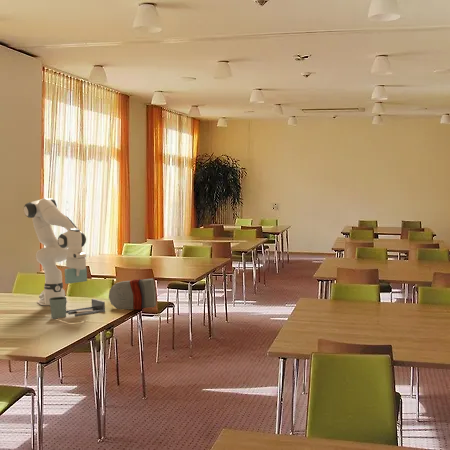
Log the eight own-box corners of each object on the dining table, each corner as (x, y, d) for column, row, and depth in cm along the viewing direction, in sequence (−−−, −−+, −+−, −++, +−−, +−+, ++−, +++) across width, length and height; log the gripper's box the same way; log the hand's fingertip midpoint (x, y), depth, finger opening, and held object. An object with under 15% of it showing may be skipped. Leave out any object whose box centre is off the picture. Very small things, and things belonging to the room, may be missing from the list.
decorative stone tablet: (154, 277, 425) (109, 281, 428) (152, 278, 418) (106, 283, 422) (157, 306, 426) (112, 310, 429) (155, 308, 420) (109, 312, 423)
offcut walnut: (76, 313, 410) (76, 310, 410) (92, 311, 414) (92, 309, 414) (77, 314, 407) (77, 312, 406) (93, 313, 410) (93, 310, 410)
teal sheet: (65, 283, 414) (64, 269, 414) (85, 280, 423) (84, 266, 423) (66, 283, 413) (66, 269, 412) (87, 281, 421) (86, 267, 421)
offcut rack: (64, 313, 413) (64, 302, 412) (93, 309, 426) (93, 298, 425) (75, 317, 401) (75, 306, 401) (105, 312, 414) (104, 301, 414)
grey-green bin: (70, 316, 404) (69, 297, 403) (59, 319, 395) (58, 300, 394) (57, 315, 409) (57, 296, 408) (46, 318, 400) (45, 298, 399)
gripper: (63, 253, 423) (63, 274, 424) (78, 255, 407) (78, 277, 408) (72, 252, 427) (72, 273, 428) (87, 254, 411) (88, 276, 412)
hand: (75, 275), depth 418 cm, fingers closed on teal sheet, 2 cm apart
